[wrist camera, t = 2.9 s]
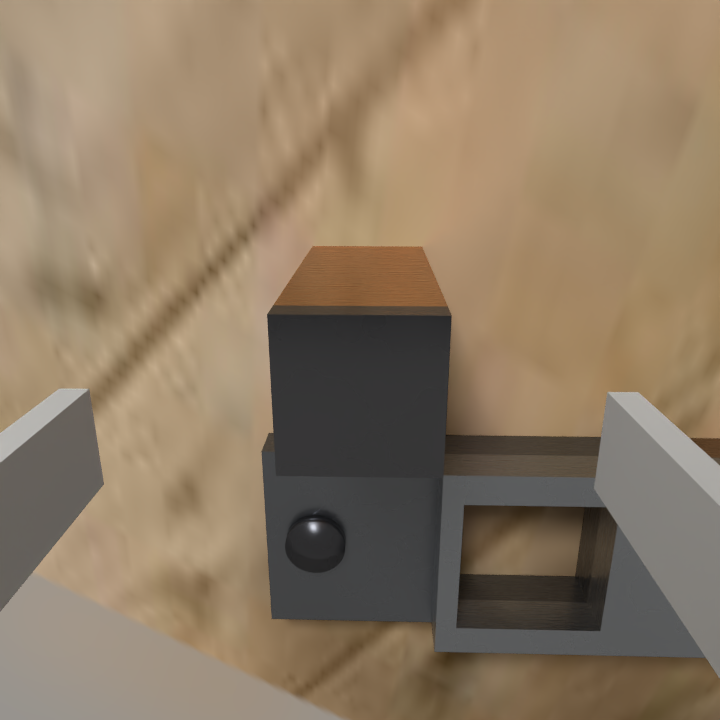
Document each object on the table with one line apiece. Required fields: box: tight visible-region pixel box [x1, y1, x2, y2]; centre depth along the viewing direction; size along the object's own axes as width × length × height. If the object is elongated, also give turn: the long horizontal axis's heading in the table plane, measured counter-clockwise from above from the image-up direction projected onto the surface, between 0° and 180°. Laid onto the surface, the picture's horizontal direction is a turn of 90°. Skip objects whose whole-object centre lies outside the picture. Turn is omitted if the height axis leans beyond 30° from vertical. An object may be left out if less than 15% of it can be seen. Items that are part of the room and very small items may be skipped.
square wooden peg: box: [267, 246, 451, 478], centre depth 23 cm, size 5×5×12 cm
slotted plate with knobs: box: [262, 433, 720, 658], centre depth 30 cm, size 10×26×5 cm, turn 90°
